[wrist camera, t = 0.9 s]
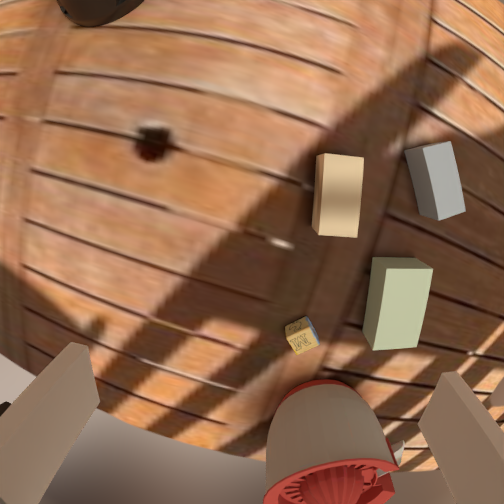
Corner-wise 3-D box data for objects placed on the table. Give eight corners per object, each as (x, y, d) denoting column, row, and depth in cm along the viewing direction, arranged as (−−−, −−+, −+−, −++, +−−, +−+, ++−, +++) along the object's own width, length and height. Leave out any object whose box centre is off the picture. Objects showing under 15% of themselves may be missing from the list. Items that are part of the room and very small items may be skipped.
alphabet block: (317, 333, 39) (320, 345, 36) (295, 344, 39) (297, 356, 36) (306, 314, 38) (309, 325, 35) (284, 325, 39) (285, 337, 36)
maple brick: (316, 156, 34) (324, 153, 29) (350, 159, 33) (363, 157, 29) (311, 226, 36) (318, 234, 31) (345, 228, 35) (357, 237, 31)
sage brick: (372, 256, 36) (386, 268, 31) (414, 257, 36) (432, 268, 31) (361, 330, 39) (372, 350, 34) (402, 328, 38) (416, 346, 33)
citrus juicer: (379, 424, 43) (414, 520, 23) (275, 447, 44) (277, 550, 25) (378, 350, 39) (436, 457, 20) (253, 378, 41) (245, 500, 21)
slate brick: (403, 150, 33) (422, 148, 28) (429, 144, 32) (450, 141, 28) (419, 214, 35) (438, 220, 30) (444, 206, 34) (465, 211, 29)
